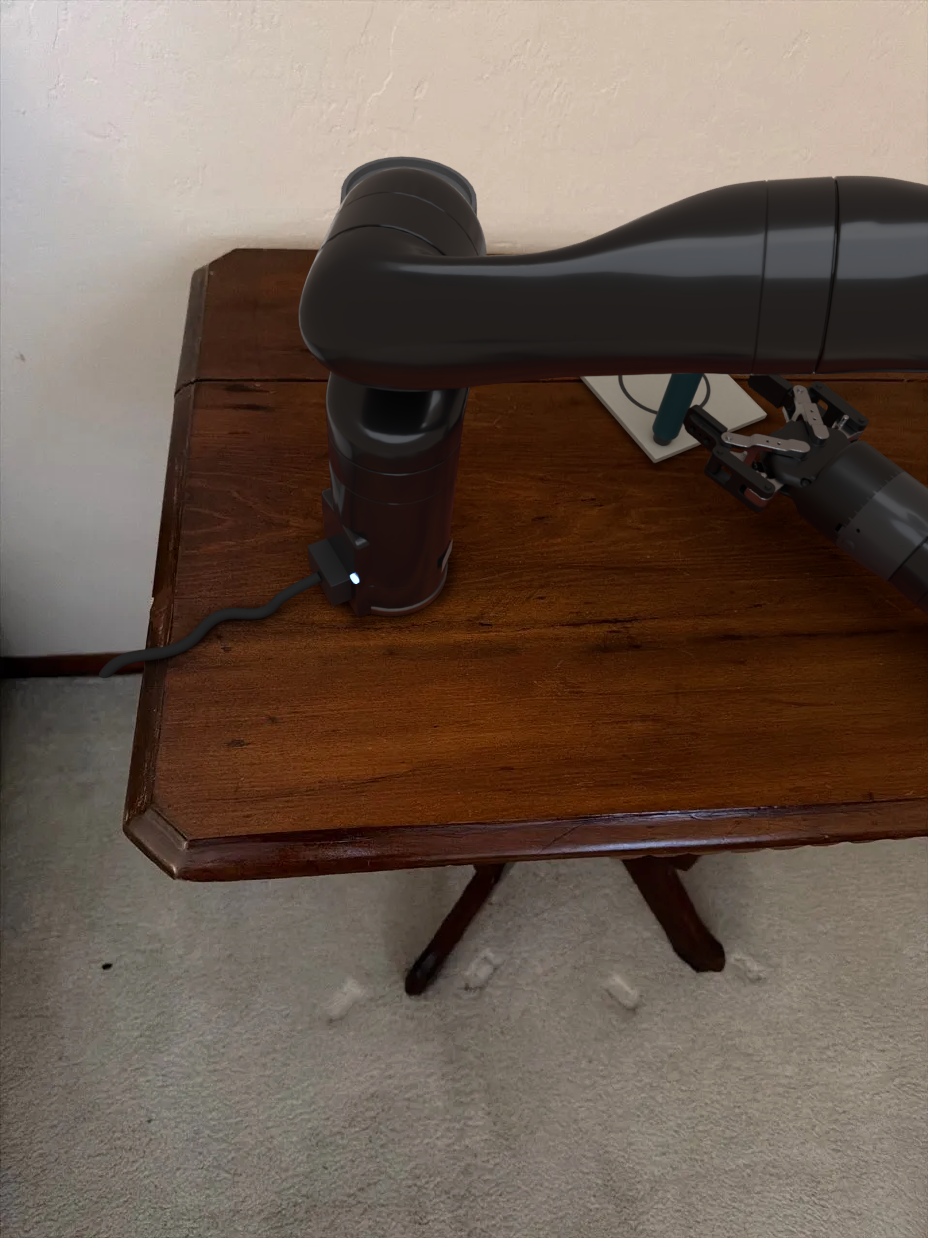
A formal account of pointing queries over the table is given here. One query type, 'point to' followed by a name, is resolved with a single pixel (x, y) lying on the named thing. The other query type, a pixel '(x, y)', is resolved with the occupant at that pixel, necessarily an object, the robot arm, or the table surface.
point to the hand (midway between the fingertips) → (720, 392)
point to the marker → (674, 406)
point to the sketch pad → (642, 396)
